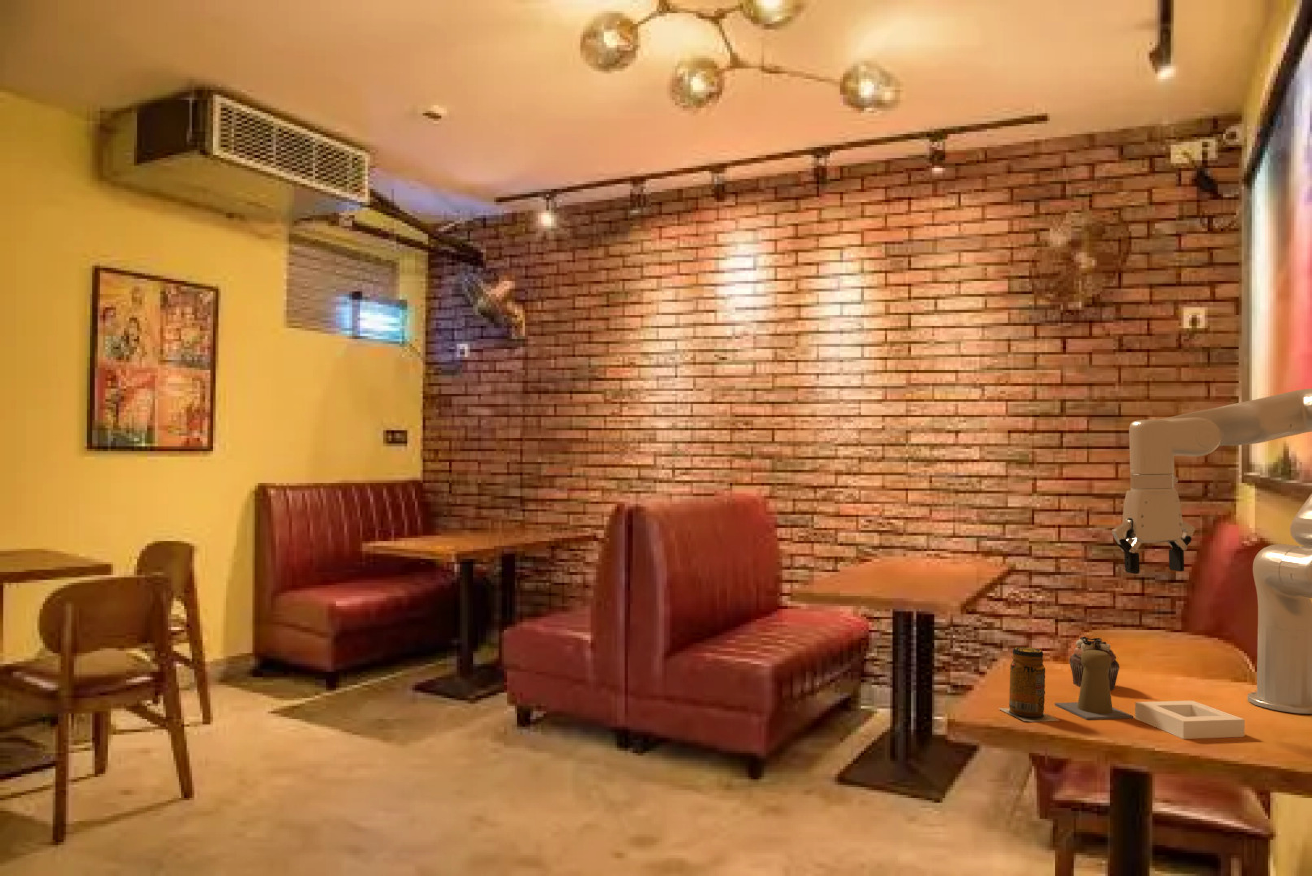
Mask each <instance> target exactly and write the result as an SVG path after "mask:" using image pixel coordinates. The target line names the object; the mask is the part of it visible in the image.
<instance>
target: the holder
mask: <svg viewBox="0 0 1312 876" xmlns="http://www.w3.org/2000/svg"><path fill="white" fill-rule="evenodd" d="M1134 704H1135V706H1134V718H1135V719H1136V720H1138V721H1140V722H1143V723H1145V724H1148V725H1149V726H1152V727H1154V728H1156V727H1157V729H1159V730H1162V731H1163V732H1167V733H1168V734H1171V735H1173V736H1175V737H1177V738H1180V739H1182V740H1183V739H1184V740H1188V739H1191V740H1192V739H1193V740H1194V739H1216V738H1217V739H1219V738H1221V739H1222V738H1242V737H1245V718H1242V717H1239V716H1237V715H1233V714H1230V713H1228V712H1225V711H1222V710H1220V709H1218V708H1214V707H1211V706H1210V705H1209V706H1208V705H1206V704H1205V703H1204V704H1203V703H1200V702H1197V701H1196V700H1169V701H1168V700H1167V701H1165V700H1164V701H1136V702H1135V703H1134Z"/></svg>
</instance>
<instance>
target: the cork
mask: <svg viewBox="0 0 1312 876" xmlns="http://www.w3.org/2000/svg"><path fill="white" fill-rule="evenodd" d="M1081 663H1082V665H1083V667H1084V670H1083V676H1082V682H1081V687H1079V688H1080V689H1079V695H1078V701H1077V702H1078V706H1077V707H1078V708H1079V709H1080V710H1083V711H1086V712H1090V713H1097V714H1109V713H1112V712H1113V710H1112V707H1113V703H1112V696H1111V695H1112V694H1111V690H1110V685H1109V677H1108V669H1109V668H1110V666H1111V658H1110V656H1109V654H1107V653H1106V652H1103V651H1099V650H1086V651H1084V652H1083V653H1082V655H1081Z"/></svg>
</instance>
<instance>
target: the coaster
mask: <svg viewBox="0 0 1312 876" xmlns="http://www.w3.org/2000/svg"><path fill="white" fill-rule="evenodd" d="M1054 706H1056V707H1058V708H1060V709H1062V710H1065V711H1066V712H1069V713H1071V714H1074V715H1076V716H1078V717H1080V718H1082V719H1084V720H1088V721H1089V720H1117V719H1134V715H1132V714H1129V713H1127V712H1126V711H1122V710H1119V709H1118V708H1115V707H1113V706H1112V710H1113V712H1112V713H1109V714H1097V713H1090V712H1086V711H1083V710H1080V709H1079V708H1078V707H1077V706H1078V701H1077V702H1054Z"/></svg>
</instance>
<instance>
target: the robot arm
mask: <svg viewBox="0 0 1312 876" xmlns="http://www.w3.org/2000/svg"><path fill="white" fill-rule="evenodd" d="M1309 432H1310V433H1311V432H1312V388H1304V389H1298V390H1297V389H1296V390H1292V391H1288V392H1283V393H1279V394H1274V395H1269V396H1266V397H1261V398H1256V399H1251V400H1247V401H1242V402H1237V403H1231V404H1227V405H1224V406H1222V405H1221V406H1218V407H1214V408H1208V409H1203V410H1199V411H1193V412H1187V413H1183V414H1179V415H1178V414H1177V415H1174V416H1169V417H1165V418H1161V419H1158V418H1157V419H1139V420H1134V421H1132V422H1131V423H1130V425H1129V429H1128V435H1129V436H1128V437H1129V438H1128V439H1129V441H1128V442H1129V472H1130V475H1129V476H1130V477H1129V478H1130V490H1126V493H1125V498H1124V503H1123V509H1122V510H1123V511H1122V523H1120V524H1119V525H1118V526H1116V527H1114V528H1113V529H1112V530H1111V534H1112V535H1113V538H1114V540H1115V543H1116V544H1117V546H1119V548H1120V550H1121V551H1122V552H1124V567H1125V568H1124V569H1125V570H1124V571H1125V572H1126V573H1129V574H1134V575H1138V574H1139V573H1140V554H1139V552H1137V551H1138V550H1139V548H1140V546H1142V544H1143V543H1146V544H1147V543H1165V542H1166V543H1168V545H1169V547H1170V549H1168V569H1169V570H1171V571H1174V572H1175V571H1176V572H1184V571H1185V551H1187V549H1188V545H1190V543H1191V542H1192V539H1193V538H1192V537H1193V535H1194V534H1195V533H1194V532H1195V531H1196V528H1195V526H1193V525H1191V524H1189V523H1188V522H1186V521H1184V520H1183V516H1182V508H1181V502H1180V497H1179V493H1178V490H1176V489H1175V484H1178V482H1179V478H1178V477H1177V476H1175V457H1203V456H1207V455H1209V454H1211V453H1213V452H1214V451H1215V450H1217V449H1218V447H1219V446H1220V447H1221V446H1244V445H1245V446H1246V445H1254V444H1255V445H1256V444H1260V443H1266V442H1269V441H1273V440H1277V439H1282V438H1287V437H1292V436H1293V437H1294V436H1297V435H1301V434H1305V433H1309ZM1289 531H1290V536H1291V538H1292V539H1293V540H1294V541H1295V542H1296V544H1297V543H1298V544H1299V545H1294V544H1287V543H1285V544H1284V543H1283V544H1282V543H1277V544H1272V545H1268V546H1265V547H1263V548H1262V549H1261V550H1260V551H1258V552H1257V554H1256V555H1255V557H1254V559H1253V563H1252V575H1253V579H1254V585H1255V589H1256V595H1257V656H1256V657H1257V663H1256V664H1257V665H1256V666H1257V667H1256V669H1257V671H1256V691H1252V692H1249V693H1248V694H1247V701H1248V702H1249V703H1251V704H1252V705H1255V706H1258V707H1261V708H1263V709H1268V710H1273V711H1279V712H1286V713H1289V714H1291V713H1292V714H1300V715H1301V714H1302V715H1304V714H1305V715H1312V600H1311V599H1312V493H1311V494H1309V497H1308V498H1307V499H1306V500H1305V502H1304V503H1303V505H1302V506H1301V507H1300V508H1299V510H1298V512H1297V513H1296V514H1295V516H1294V517H1293V519H1292V521H1291V523H1290V527H1289Z"/></svg>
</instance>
